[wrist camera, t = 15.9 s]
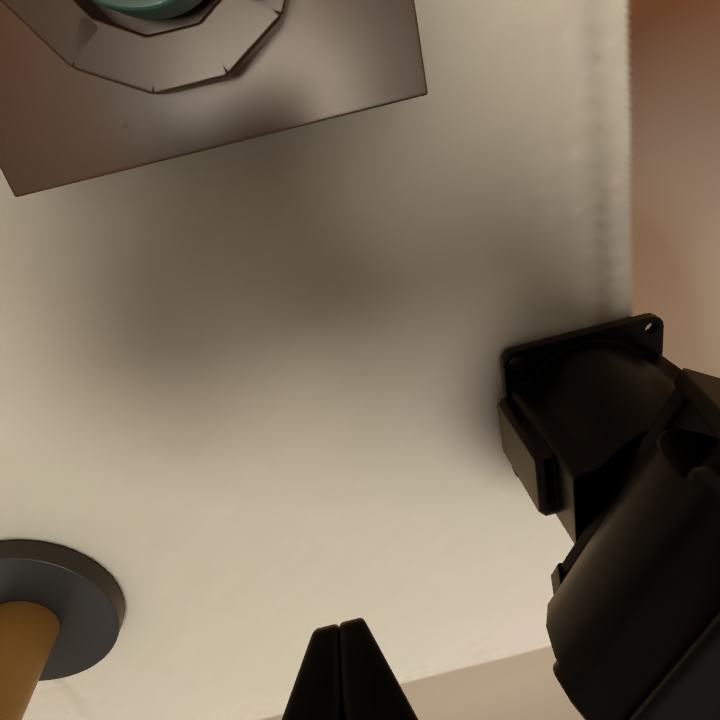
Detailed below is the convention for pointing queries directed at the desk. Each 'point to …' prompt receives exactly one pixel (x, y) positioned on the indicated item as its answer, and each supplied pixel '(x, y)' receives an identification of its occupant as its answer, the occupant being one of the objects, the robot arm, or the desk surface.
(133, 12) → the button
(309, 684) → the robot arm
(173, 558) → the desk surface
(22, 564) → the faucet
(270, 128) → the button box
